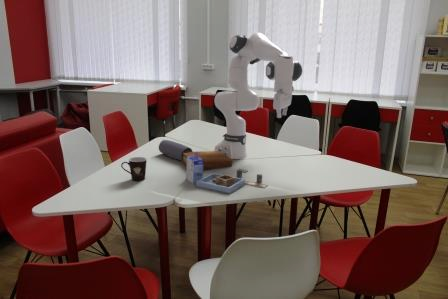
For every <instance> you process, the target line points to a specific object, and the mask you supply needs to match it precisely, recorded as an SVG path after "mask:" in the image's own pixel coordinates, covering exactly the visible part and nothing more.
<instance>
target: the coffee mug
mask: <svg viewBox="0 0 448 299" xmlns="http://www.w3.org/2000/svg"><path fill="white" fill-rule="evenodd" d="M147 160H148V159H147V158H146V157H143V156H134V157H130V158H129V159H128V162H127V161H123V162H122V163H121V166H120V167H121V168H122V169H123V170H124V171H125V172H126V173H127V174H129V175H131V176H130V177H131V180H132V181H136V182H139V181H144V180H145V179H146V172H147V171H146V170H147ZM124 164H127V165H128V167H129V170H130V171H128V169H125V168H124V167H123V165H124Z"/></svg>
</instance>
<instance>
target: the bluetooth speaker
mask: <svg viewBox="0 0 448 299" xmlns="http://www.w3.org/2000/svg"><path fill="white" fill-rule="evenodd" d="M158 151H159V152H160V153H161V154H164V155H165V156H167V157H169V158H171V159H174V160H176V159H177V160H178V161H180V162H181V160H183V154H182V153H183V152H194V151H193V149H192V148H191V147H189V146H187V145H185V144H184V145H183V144H182V143H179V142H176V141H173V140H168V139H164V140H162V141H160V142H159V144H158Z"/></svg>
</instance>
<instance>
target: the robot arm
mask: <svg viewBox="0 0 448 299" xmlns="http://www.w3.org/2000/svg"><path fill="white" fill-rule="evenodd" d="M229 50H230V51H231V52H232V53H233V54H236V55H234V56H233V57H232V58H231V60H230V64H229V67H228V79H227V80H228V84H229V87H231V89H232V90H233V91H232V90H231V91H230V90H226V91H221V92H220V91H219V92H217V93H216V95H215V97H214V105H215V108H216V109H218V110H219V111H220V112H221V113H222V114H223V116H224V118H225V121H226V122H225V124H226V133H225V134H223V135H222V138H223V140H221V141H220V142H218V143H217V144H216V145H215V146H214V149H213V151H219V152H221V153H223V154H225V155H226V156H228V157H230V158H231V159H232V160H239V159H240V160H241V159H245V158H247V156H248V155H247V154H248V153H247V148H246V146H247V145H246V143H247V133H246V131H247V130H246V129H247V127H246V126H247V123H246V120H245V119H244V118H243V117H241V116H240V115H238V114H236V111H237V112H239V111H240V112H241V111H243V112H249V111H255V110H257V109H258V107H259V105H260V97H259V95H258V94H257V93H256V92H255V91H253V90H252V89H251V87H250V86H249V82H248V80H249V79H248V66H249V64H250V65H254V64H255V63H258V62H260V61H264V62H268V63H267V64H266V65H265V76H266V77H267V79H269V80H270V81H274V84H273V85H274V86H273V87H274V88H273V92H274V95H273V104H272V107H273V110H276V111H275V112H276V118H277V119H281V118H282V116H287V111H288V107H289V106H291V104H292V99H293V92H294V89H295V88H294V86H293V83H294V82H297V81H298V80H299V79H300V77H302V75H303V66H302V65H301V63H300V62H299V61H298V60H294V58H293V56H292V55H291V54H288V53H287V52H285V51H284V49H282V48H280V47H278V46H277V45H275V44H274V43H273V42H271V41H270V39H269V37H267V36H266V35H265V34H263V33H262V32H254V33H253V34H251V35H250V37H247V35H246V34H245V35H241V34H236V35H234V36H233V37H232V38H231V40H230V43H229Z"/></svg>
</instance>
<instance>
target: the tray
mask: <svg viewBox="0 0 448 299" xmlns="http://www.w3.org/2000/svg"><path fill="white" fill-rule="evenodd" d="M222 175H223V174H220V173H216V172H212V173H211V174H208V175H206V176H203V178H202V179H199V180H197V181H196V184H195V187H196V188H200V189H205V190H209V191H214V192H218V193H223V194H227V195H231V194H232V193H234V192H235V191H237V190H239V189H240V188H242V187H244V186H246V184H245V181H246V179H244V178H237V176H236V177H235V176H234V177H235V178H236V181H235V184H233V185H232V186H230V187H225V186H220V185H216V183H215V182H213V179H215V178H216V177H218V176H222Z"/></svg>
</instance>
